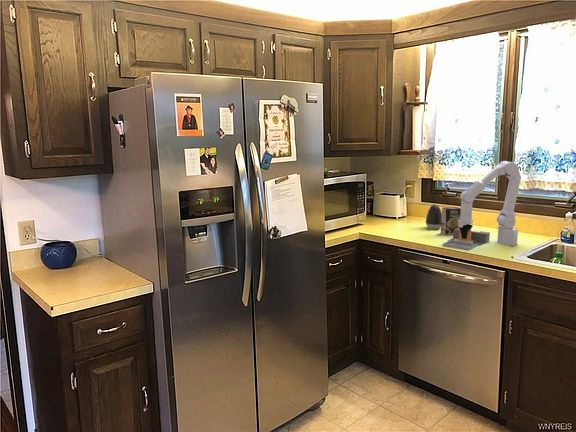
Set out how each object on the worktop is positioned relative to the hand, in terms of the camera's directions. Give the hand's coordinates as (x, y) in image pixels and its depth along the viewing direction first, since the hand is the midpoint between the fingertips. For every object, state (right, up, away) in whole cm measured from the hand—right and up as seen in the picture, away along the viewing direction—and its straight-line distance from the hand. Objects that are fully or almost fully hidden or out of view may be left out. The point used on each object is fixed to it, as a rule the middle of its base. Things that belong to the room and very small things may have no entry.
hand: (464, 238), depth 250 cm
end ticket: (0, -2, 0) cm, 2 cm away
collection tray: (-5, -4, -6) cm, 10 cm away
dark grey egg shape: (-5, +4, +39) cm, 39 cm away
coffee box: (-1, +1, +21) cm, 21 cm away
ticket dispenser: (+3, -2, +4) cm, 6 cm away
